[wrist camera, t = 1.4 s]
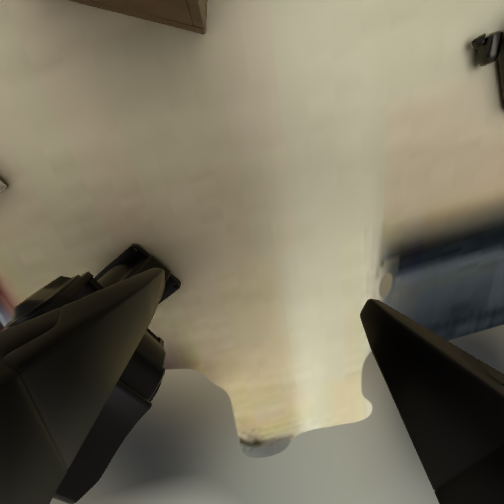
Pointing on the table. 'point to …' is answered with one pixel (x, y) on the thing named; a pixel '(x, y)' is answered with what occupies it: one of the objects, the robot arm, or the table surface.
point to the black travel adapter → (491, 51)
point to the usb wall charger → (2, 186)
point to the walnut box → (160, 11)
